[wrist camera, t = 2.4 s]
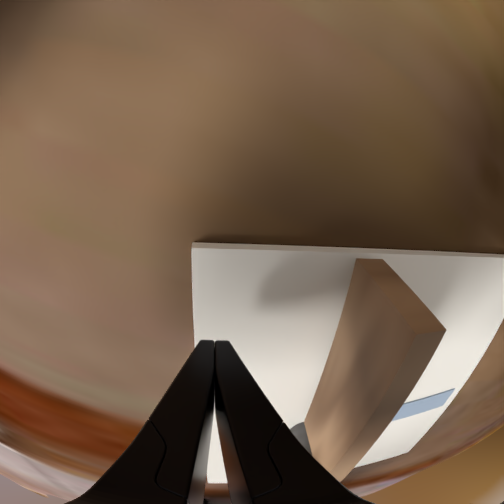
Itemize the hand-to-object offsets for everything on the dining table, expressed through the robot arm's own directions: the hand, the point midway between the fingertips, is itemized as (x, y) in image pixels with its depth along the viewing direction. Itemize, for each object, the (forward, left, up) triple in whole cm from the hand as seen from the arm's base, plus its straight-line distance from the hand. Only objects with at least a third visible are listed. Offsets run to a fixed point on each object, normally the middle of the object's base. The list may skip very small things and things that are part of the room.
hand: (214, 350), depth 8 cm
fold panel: (-2, -5, -1) cm, 5 cm away
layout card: (-7, -8, -2) cm, 11 cm away
